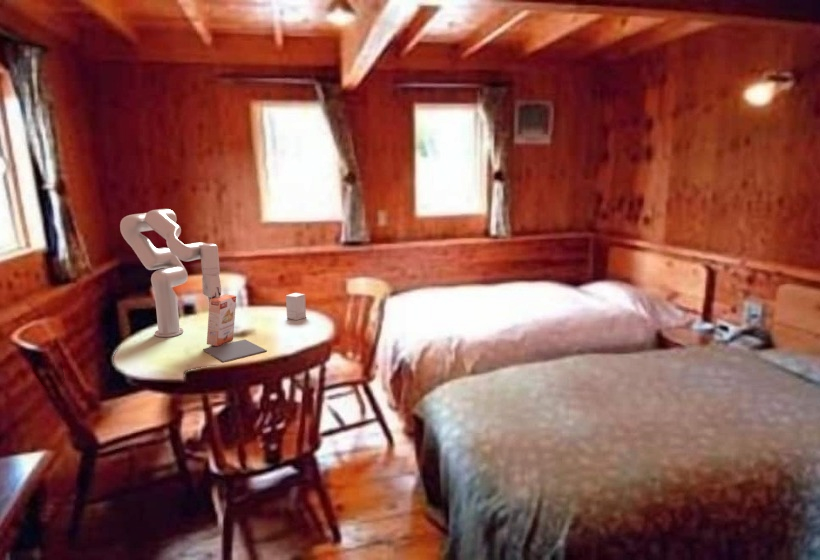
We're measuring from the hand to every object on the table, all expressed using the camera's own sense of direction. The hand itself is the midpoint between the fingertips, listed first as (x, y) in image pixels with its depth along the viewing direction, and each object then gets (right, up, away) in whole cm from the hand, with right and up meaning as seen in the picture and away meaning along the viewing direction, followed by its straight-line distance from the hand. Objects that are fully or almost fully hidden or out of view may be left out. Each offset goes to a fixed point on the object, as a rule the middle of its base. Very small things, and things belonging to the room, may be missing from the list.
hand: (214, 310), depth 257 cm
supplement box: (+29, -6, +41) cm, 51 cm away
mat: (+13, -17, -11) cm, 24 cm away
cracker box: (+3, -14, -1) cm, 15 cm away
